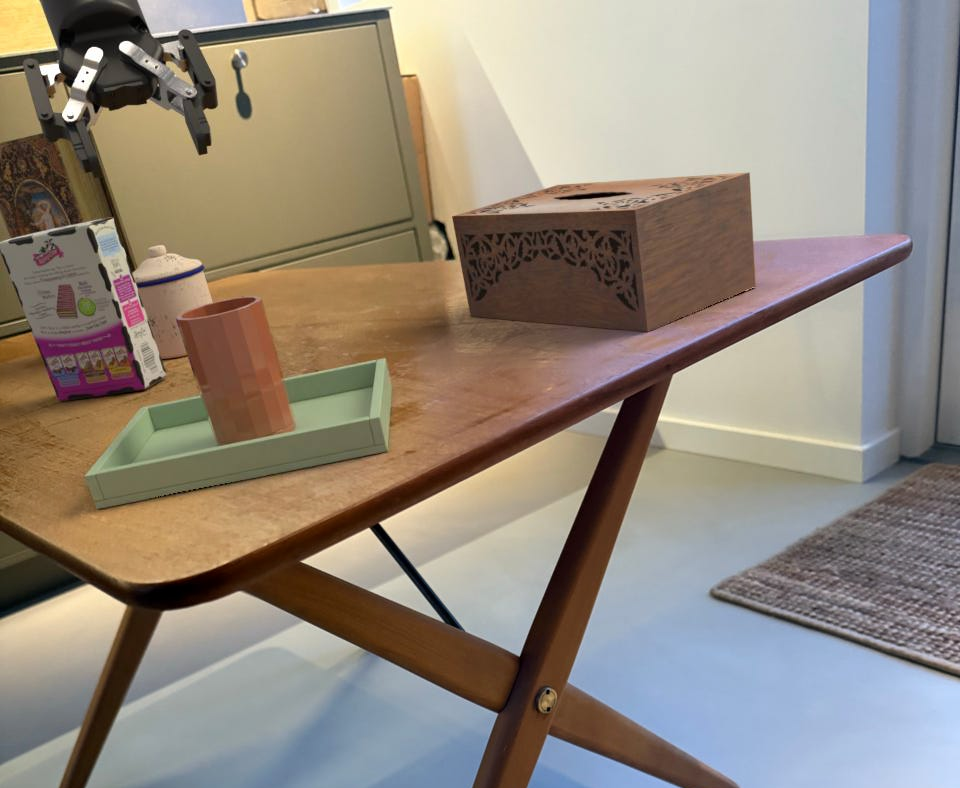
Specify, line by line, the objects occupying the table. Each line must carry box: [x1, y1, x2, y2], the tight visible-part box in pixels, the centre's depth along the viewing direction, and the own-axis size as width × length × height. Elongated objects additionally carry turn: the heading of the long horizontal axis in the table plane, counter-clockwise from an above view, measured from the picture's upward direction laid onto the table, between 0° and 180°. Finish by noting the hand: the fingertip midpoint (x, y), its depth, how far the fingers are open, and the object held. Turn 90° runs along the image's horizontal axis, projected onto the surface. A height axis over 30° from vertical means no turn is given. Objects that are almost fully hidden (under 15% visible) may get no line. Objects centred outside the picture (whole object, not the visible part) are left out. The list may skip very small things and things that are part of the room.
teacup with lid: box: [132, 244, 213, 360], centre depth 119 cm, size 12×9×12 cm
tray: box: [83, 357, 393, 510], centre depth 81 cm, size 22×18×3 cm
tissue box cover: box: [451, 172, 757, 333], centre depth 100 cm, size 26×14×10 cm, turn 38°
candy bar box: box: [0, 217, 168, 402], centre depth 106 cm, size 11×5×16 cm, turn 76°
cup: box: [176, 295, 296, 446], centre depth 79 cm, size 6×6×10 cm
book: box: [0, 127, 139, 273], centre depth 126 cm, size 16×6×25 cm, turn 56°
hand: (150, 159), depth 82 cm, fingers open, 8 cm apart
